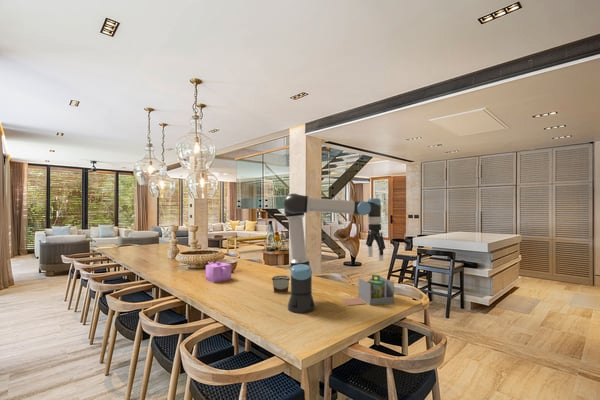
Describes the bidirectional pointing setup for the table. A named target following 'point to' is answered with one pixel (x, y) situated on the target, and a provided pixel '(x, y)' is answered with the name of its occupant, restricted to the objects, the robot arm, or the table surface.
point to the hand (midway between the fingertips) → (375, 258)
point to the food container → (280, 284)
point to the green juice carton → (377, 287)
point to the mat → (353, 301)
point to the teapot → (218, 272)
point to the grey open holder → (366, 296)
